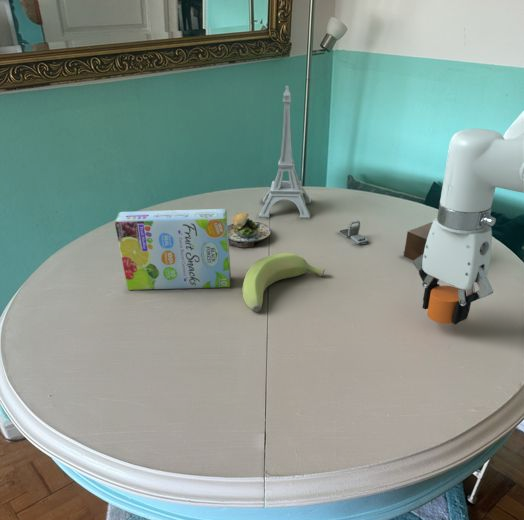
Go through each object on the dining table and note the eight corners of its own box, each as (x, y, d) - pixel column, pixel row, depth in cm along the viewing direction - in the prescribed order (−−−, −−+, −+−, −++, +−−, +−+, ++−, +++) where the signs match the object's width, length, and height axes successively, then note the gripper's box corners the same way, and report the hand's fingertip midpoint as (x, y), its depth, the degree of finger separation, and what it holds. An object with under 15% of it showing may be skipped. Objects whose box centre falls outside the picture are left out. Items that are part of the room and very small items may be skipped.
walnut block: (469, 259, 115) (475, 234, 111) (439, 272, 110) (445, 246, 106) (432, 244, 121) (437, 219, 118) (403, 256, 116) (407, 231, 113)
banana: (229, 253, 103) (317, 245, 110) (225, 274, 107) (310, 265, 114) (254, 299, 95) (346, 287, 103) (249, 320, 99) (338, 307, 107)
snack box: (231, 275, 111) (227, 207, 102) (230, 288, 106) (225, 218, 97) (131, 278, 110) (118, 209, 101) (126, 291, 106) (112, 221, 97)
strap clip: (368, 243, 122) (371, 226, 120) (358, 246, 121) (360, 228, 119) (348, 230, 128) (350, 214, 126) (338, 232, 127) (339, 216, 125)
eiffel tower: (258, 217, 136) (255, 91, 118) (263, 199, 147) (261, 81, 129) (309, 218, 135) (314, 91, 117) (311, 200, 145) (315, 81, 128)
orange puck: (466, 316, 91) (471, 294, 88) (446, 327, 89) (450, 305, 86) (440, 303, 95) (444, 282, 92) (420, 314, 92) (423, 292, 90)
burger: (257, 252, 119) (256, 221, 115) (213, 242, 124) (211, 212, 119) (279, 232, 128) (279, 203, 124) (238, 224, 132) (236, 195, 128)
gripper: (527, 225, 77) (499, 327, 88) (434, 195, 88) (419, 288, 99) (497, 239, 73) (472, 343, 84) (404, 206, 85) (392, 301, 96)
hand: (443, 312), depth 91 cm, fingers closed on orange puck, 5 cm apart
